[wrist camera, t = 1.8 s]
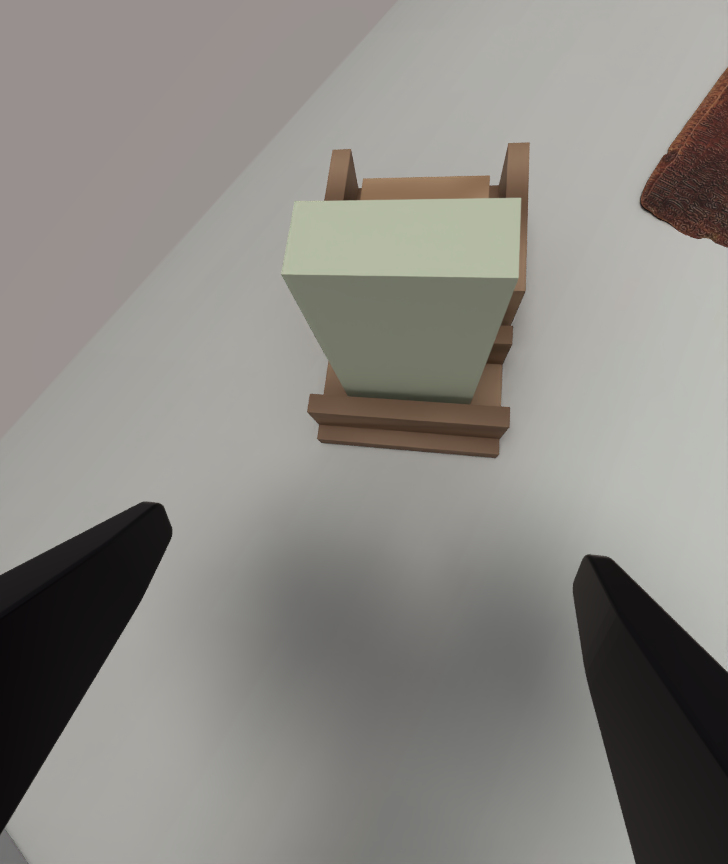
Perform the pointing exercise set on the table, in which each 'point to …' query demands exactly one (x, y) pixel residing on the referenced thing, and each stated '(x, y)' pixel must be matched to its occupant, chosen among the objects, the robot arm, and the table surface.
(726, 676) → the robot arm
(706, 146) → the wooden tablet
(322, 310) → the tall board
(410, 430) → the offcut rack
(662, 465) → the table surface
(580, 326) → the table surface
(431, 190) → the small oak offcut
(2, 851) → the electronic device
